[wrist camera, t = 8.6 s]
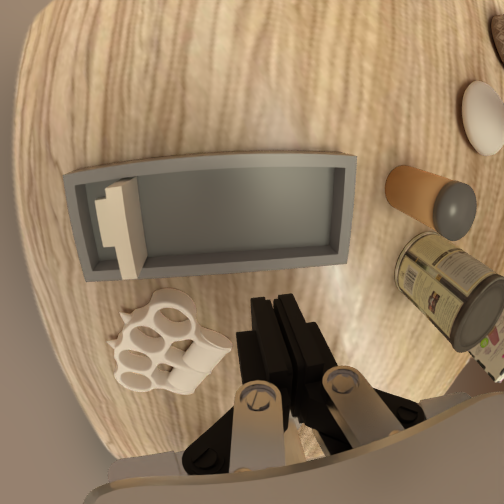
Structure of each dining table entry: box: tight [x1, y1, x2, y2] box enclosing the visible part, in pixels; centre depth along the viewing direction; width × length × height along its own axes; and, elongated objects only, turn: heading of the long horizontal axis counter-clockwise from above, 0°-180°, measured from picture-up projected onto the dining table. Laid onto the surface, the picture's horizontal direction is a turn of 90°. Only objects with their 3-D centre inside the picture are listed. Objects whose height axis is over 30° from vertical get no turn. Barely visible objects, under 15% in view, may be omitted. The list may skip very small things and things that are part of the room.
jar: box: [385, 165, 476, 241], centre depth 26 cm, size 6×6×10 cm
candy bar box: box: [468, 310, 504, 383], centre depth 35 cm, size 11×5×16 cm, turn 152°
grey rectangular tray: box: [63, 150, 357, 282], centre depth 27 cm, size 11×28×4 cm, turn 91°
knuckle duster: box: [106, 288, 232, 395], centre depth 34 cm, size 3×18×15 cm
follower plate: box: [95, 176, 148, 280], centre depth 24 cm, size 8×4×5 cm, turn 1°
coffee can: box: [395, 232, 504, 353], centre depth 30 cm, size 10×10×14 cm
